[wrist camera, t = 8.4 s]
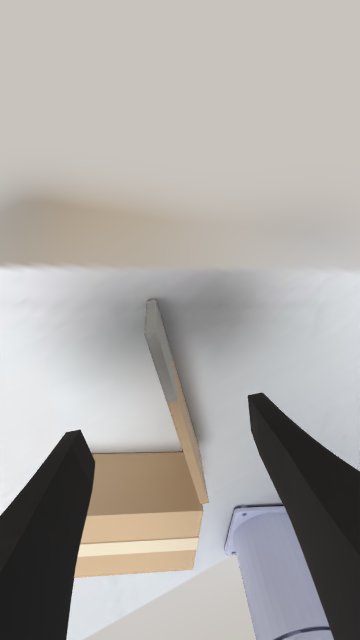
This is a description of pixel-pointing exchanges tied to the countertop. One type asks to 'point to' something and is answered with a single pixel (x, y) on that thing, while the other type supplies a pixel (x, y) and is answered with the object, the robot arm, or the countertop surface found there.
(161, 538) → the carton
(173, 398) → the flap
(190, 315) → the countertop surface
